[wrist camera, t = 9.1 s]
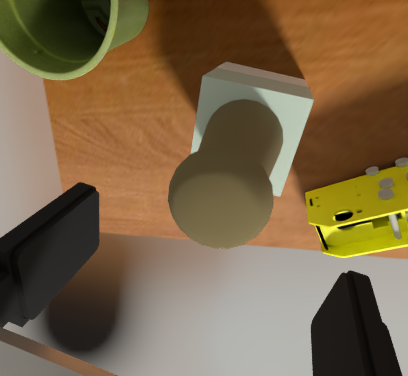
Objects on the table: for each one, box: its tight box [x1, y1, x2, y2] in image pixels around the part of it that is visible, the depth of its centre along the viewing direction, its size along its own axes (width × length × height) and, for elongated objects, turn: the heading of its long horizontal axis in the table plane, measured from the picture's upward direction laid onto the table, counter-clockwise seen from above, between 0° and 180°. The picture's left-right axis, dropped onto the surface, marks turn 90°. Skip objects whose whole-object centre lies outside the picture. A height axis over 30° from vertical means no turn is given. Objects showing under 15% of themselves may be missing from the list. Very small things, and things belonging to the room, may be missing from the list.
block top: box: [191, 68, 314, 197], centre depth 25 cm, size 8×8×5 cm
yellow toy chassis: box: [305, 158, 408, 258], centre depth 28 cm, size 16×6×8 cm, turn 117°
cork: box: [168, 99, 283, 249], centre depth 18 cm, size 6×6×11 cm
